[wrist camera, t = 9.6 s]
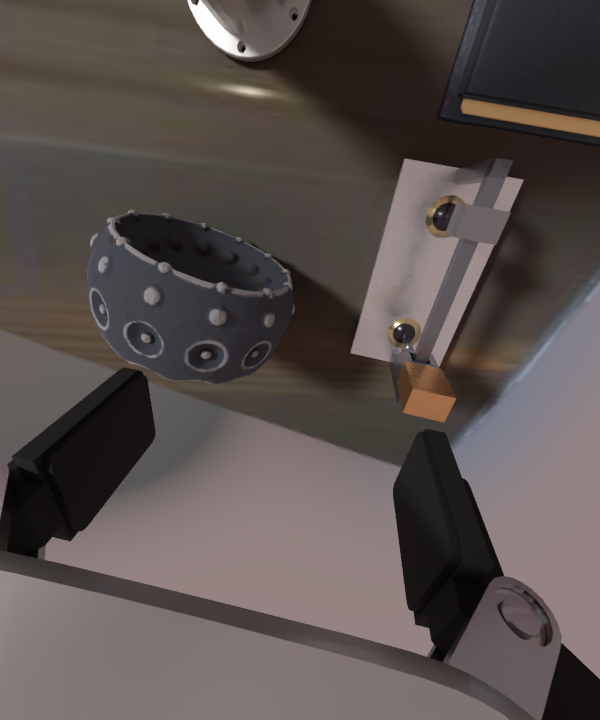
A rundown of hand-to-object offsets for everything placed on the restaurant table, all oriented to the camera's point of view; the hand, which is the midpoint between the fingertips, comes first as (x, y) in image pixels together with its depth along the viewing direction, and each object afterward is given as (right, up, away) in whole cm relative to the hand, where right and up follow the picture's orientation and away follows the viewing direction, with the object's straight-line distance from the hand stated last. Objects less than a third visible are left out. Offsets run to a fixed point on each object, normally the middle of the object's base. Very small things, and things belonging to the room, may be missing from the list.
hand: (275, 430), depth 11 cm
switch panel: (+16, +13, +27) cm, 34 cm away
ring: (-8, +14, +31) cm, 35 cm away
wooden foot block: (+14, +5, +29) cm, 32 cm away
